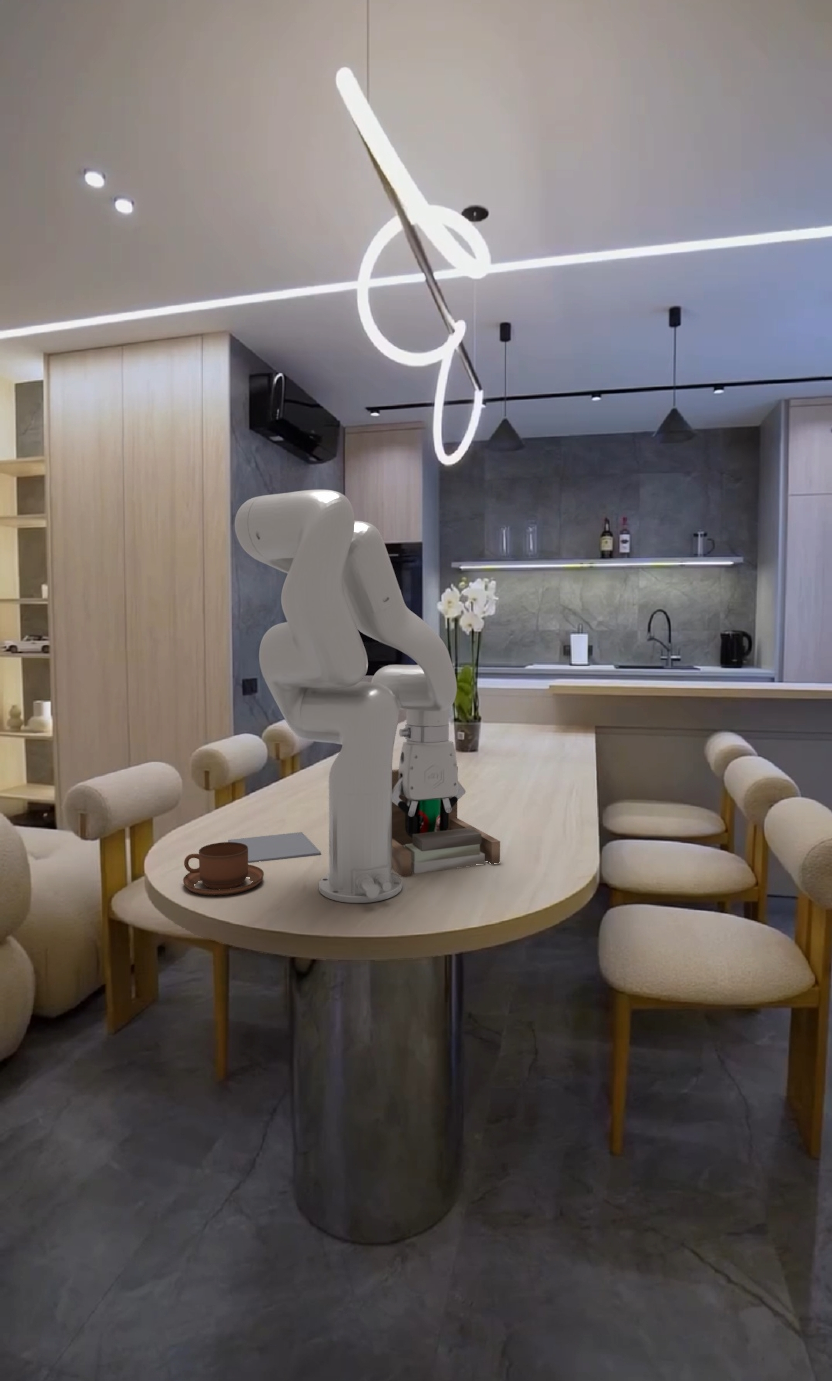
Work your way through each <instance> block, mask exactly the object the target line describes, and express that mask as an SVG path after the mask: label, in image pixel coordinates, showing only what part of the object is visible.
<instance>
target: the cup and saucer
mask: <svg viewBox="0 0 832 1381" xmlns="http://www.w3.org/2000/svg"><path fill="white" fill-rule="evenodd" d="M191 859H196V860H198V865H199V866H198V867H197V868H192V867H191V866H190V865H189V863H190V860H191ZM183 865H184V868H185V870H186V871H187V872H188V873H187V874H185V875H184V876H183V880H182V881H183V884H184V886H185V887H186V888H187V889H188V890H189V891H191V892H193V893H195V894H197V895H202V894H203V895H204V896H212V895H219V896H229V894H230V895H236V894H240V893H243V892H246V891H248V890H251V889H253V888H254V887H256V886H257V885H258V884H260V882H262V881H263V879H264V875H265V873H264V870H263V869H262V868H261V867H258V866H256V865H253V864H249V863H248V846H247V845H245V844H242V843H237V842H228V841H226V842H225V841H224V842H221V841H220V842H215V843H211V844H207V845H204V846H203V847H201V848H200V849H199V850H198V853H190V854H188V855H187V856H186V857H185V858H184V861H183ZM246 877H250V879H248V880H249V881H250V883H249V884H247V885H242V886H240V885H241V884H243V883H244V881H245V880H246V879H247V878H246ZM198 881H200V882H202V884H203V885H204V886H205V887H207V888H209V889H202V888H197V887H196V885H197V884H198V883H199V882H198ZM251 881H253V882H252V883H251ZM194 884H196V885H195V886H194ZM230 888H231V889H230ZM217 889H218V890H217ZM219 889H220V890H219Z"/></svg>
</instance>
